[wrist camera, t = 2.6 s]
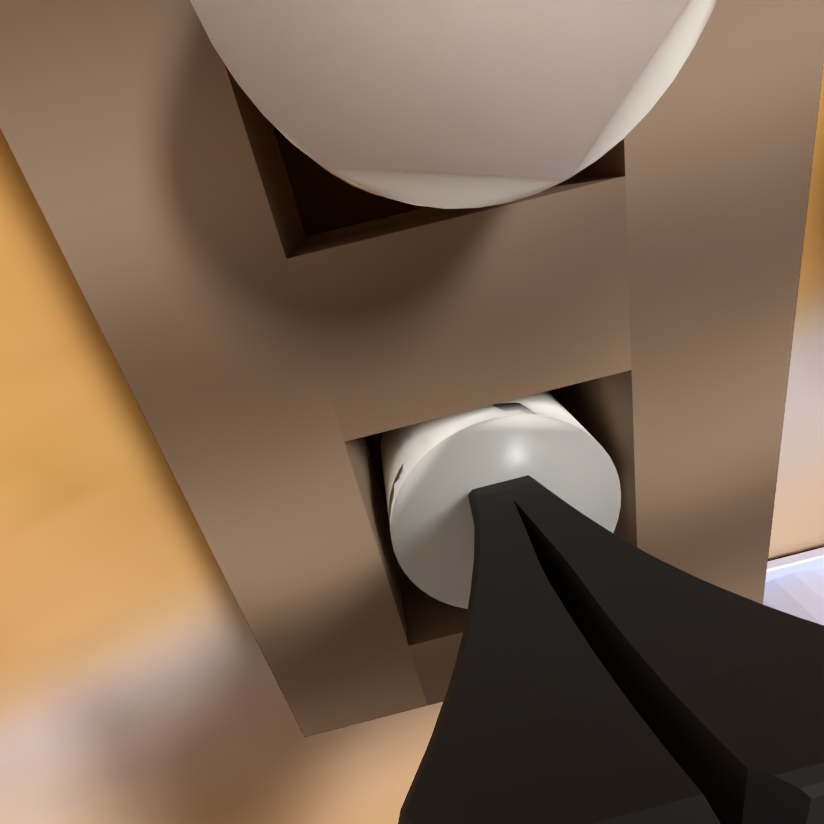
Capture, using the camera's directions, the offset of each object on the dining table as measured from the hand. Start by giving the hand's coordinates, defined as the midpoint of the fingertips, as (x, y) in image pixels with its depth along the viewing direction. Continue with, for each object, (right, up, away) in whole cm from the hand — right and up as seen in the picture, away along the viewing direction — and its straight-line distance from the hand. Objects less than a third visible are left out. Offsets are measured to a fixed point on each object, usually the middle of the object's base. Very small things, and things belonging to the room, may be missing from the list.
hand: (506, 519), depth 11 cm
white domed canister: (0, +1, +3) cm, 3 cm away
